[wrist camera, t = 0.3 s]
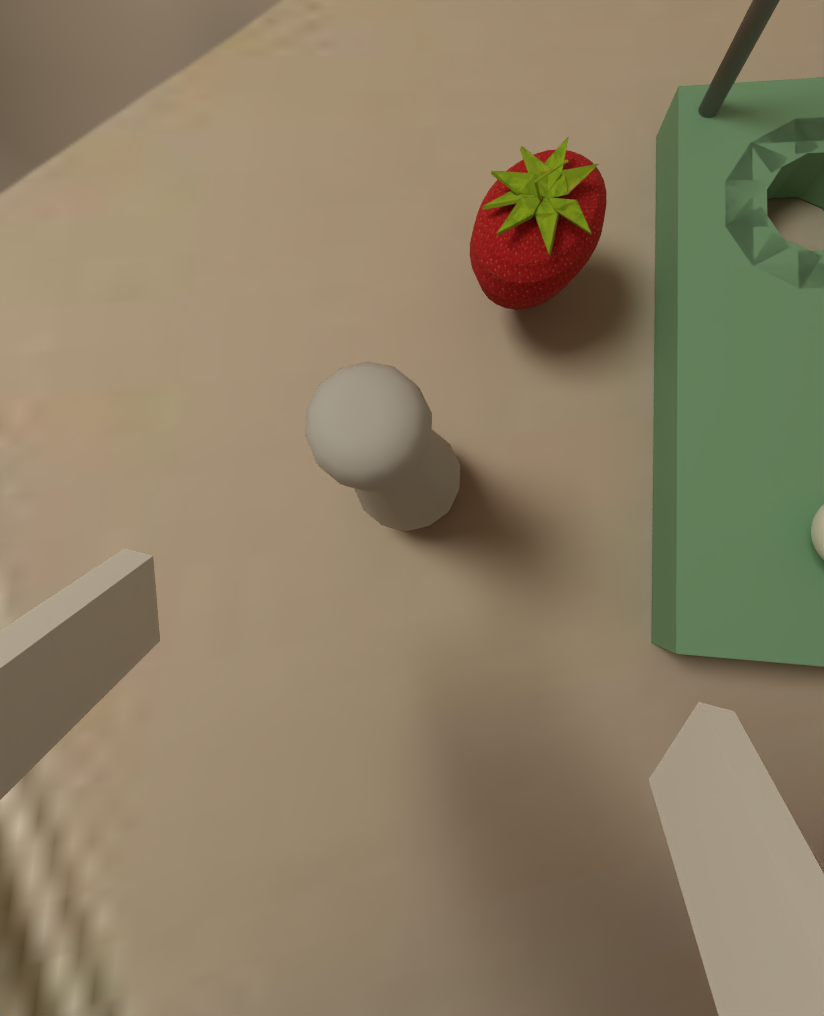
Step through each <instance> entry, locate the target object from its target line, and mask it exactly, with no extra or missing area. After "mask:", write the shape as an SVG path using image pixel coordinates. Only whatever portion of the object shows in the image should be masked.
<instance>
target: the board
mask: <svg viewBox="0 0 824 1016" xmlns="http://www.w3.org/2000/svg"><path fill="white" fill-rule="evenodd" d="M778 2H779V0H753V1H752V3H751V5H750V7H749V9H748V11H747V13H746V15H745V17H744V19H743V21H742V23H741V25H740V27H739V29H738V31H737V33H736V35H735V37H734V39H733V41H732V43H731V45H730V47H729V49H728V51H727V53H726V55H725V57H724V59H723V61H722V63H721V65H720V67H719V69H718V71H717V73H716V74H715V76H714V78H713V80H712V82H711V84H708V85H692V86H679V87H678V89H677V91H676V93H675V96H674V98H673V100H672V103H671V105H670V107H669V109H668V112H667V114H666V116H665V118H664V121H663V123H662V125H661V127H660V130H659V132H658V134H657V144H656V245H655V345H654V446H653V547H652V643H653V644H655V645H657V646H660V647H662V648H664V649H666V650H669V651H671V652H673V653H675V654H684V655H696V656H707V657H719V658H730V659H742V660H754V661H765V662H777V663H788V664H800V665H811V666H823V667H824V560H823V559H822V558H821V557H820V555H819V554H818V553H817V551H816V549H815V548H814V545H813V543H812V538H811V525H812V521H813V518H814V516H815V514H816V513H817V511H818V510H819V509H820V507H821V506H822V505H823V504H824V251H810V250H808V249H806V248H804V247H801V246H799V245H797V244H795V243H793V242H791V241H789V240H786V239H784V238H783V237H782V236H781V234H780V233H779V231H778V230H777V229H776V227H775V226H774V224H773V223H772V222H771V220H770V219H769V217H768V216H767V200H768V199H770V198H791V197H799V198H801V199H803V200H805V201H807V202H810V203H812V204H814V205H816V206H819V207H821V208H823V210H824V77H822V78H806V79H790V80H774V81H757V82H741V83H734V82H735V80H736V78H737V76H738V75H739V73H740V71H741V69H742V67H743V66H744V64H745V62H746V60H747V58H748V57H749V55H750V53H751V51H752V49H753V48H754V46H755V44H756V42H757V40H758V38H759V37H760V35H761V33H762V31H763V29H764V28H765V26H766V24H767V22H768V20H769V19H770V17H771V15H772V13H773V11H774V10H775V8H776V6H777V4H778Z"/></svg>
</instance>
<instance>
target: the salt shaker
mask: <svg viewBox="0 0 824 1016" xmlns="http://www.w3.org/2000/svg"><path fill="white" fill-rule="evenodd" d="M431 427H432V413H431V411H430V409H429V407H428V405H427V403H426V401H425V398H424V396H423V394H422V392H421V390H420V388H419V387H418V386H417V385H416V384H415V383H414V382H413V381H411V380H410V379H409V378H408V377H406V376H405V375H404V374H403V373H401V372H400V371H399V370H397V369H396V368H395V367H393V366H388V365H382V364H377V363H372V362H364V363H360V364H356V365H351V366H347V367H343V368H340V369H339V370H338V371H337V372H335V373H334V374H333V375H332V376H330V377H329V378H328V379H327V380H325V381H324V382H323V383H322V384H320V385H319V387H318V389H317V391H316V393H315V394H314V396H313V398H312V400H311V402H310V404H309V405H308V407H307V411H306V434H305V436H306V438H307V441H308V443H309V446H310V448H311V451H312V453H313V455H314V458H315V460H316V462H317V464H318V465H319V467H320V468H322V469H323V470H324V471H325V472H327V473H328V474H329V475H330V476H331V477H333V478H334V479H335V480H336V481H337V482H339V483H340V484H342V485H345V486H349V487H352V488H354V489H355V491H356V493H357V495H358V498H359V500H360V502H361V504H362V507H363V509H364V511H366V512H367V513H368V514H369V515H370V516H372V517H373V518H374V519H375V520H376V521H378V522H379V523H380V524H381V525H383V526H387V527H391V528H394V529H398V530H402V531H409V530H414V529H418V528H423V527H427V526H430V525H431V524H432V523H434V522H435V521H437V520H438V519H439V518H441V517H442V516H443V515H445V514H446V513H447V512H449V510H450V508H451V506H452V504H453V502H454V500H455V498H456V496H457V494H458V491H459V489H460V463H459V461H458V459H457V457H456V455H455V453H454V451H453V449H452V447H451V445H450V444H449V443H448V442H447V441H446V440H444V439H443V438H442V437H441V436H439V435H438V434H437V433H436V432H435V431H433V430H432V429H431Z"/></svg>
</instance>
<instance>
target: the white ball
mask: <svg viewBox="0 0 824 1016" xmlns="http://www.w3.org/2000/svg"><path fill="white" fill-rule="evenodd" d="M811 538H812V543H813V545H814V548H815V549H816V551H817V553H818V554H819V555H820V557H821V558H822V559H823V560H824V504H823V505H822V506H821V507H820V509H819V510H818V511H817V513H816V514H815V516H814V518H813V521H812V525H811Z"/></svg>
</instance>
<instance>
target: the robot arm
mask: <svg viewBox="0 0 824 1016" xmlns="http://www.w3.org/2000/svg"><path fill="white" fill-rule="evenodd" d="M159 641H160V634H159V622H158V610H157V597H156V585H155V573H154V561H153V556H152V555H148V554H144V553H141V552H137V551H133V550H129V549H126V548H124V549H123V550H121V551H120V552H118V553H117V554H115V555H114V556H112V557H111V558H109V559H108V560H106V561H105V562H103V563H101V564H100V565H98V566H97V567H95V568H94V569H92V570H91V571H89V572H88V573H86V574H85V575H83V576H82V577H80V578H79V579H77V580H76V581H74V582H73V583H71V584H70V585H68V586H67V587H65V588H64V589H62V590H61V591H59V592H58V593H56V594H55V595H53V596H52V597H50V598H49V599H47V600H45V601H44V602H42V603H41V604H39V605H38V606H36V607H35V608H33V609H32V610H30V611H29V612H27V613H26V614H24V615H23V616H21V617H20V618H18V619H17V620H15V621H14V622H12V623H11V624H9V625H8V626H6V627H5V628H3V629H2V630H0V800H1V799H2V798H3V797H4V796H5V795H6V794H7V793H8V792H9V791H10V790H11V789H12V788H13V787H14V786H15V785H16V784H17V783H18V782H19V781H20V780H21V779H22V778H23V777H24V776H25V775H26V774H27V773H28V772H29V771H30V770H31V769H32V768H33V767H34V766H35V765H36V764H37V763H38V762H39V761H40V760H41V759H42V758H43V757H44V756H45V755H46V754H47V753H48V752H49V751H50V750H51V749H52V748H53V747H54V746H55V745H56V744H57V743H58V742H59V741H60V740H61V739H62V738H63V737H64V736H65V735H66V734H67V733H68V732H69V731H70V730H71V729H72V728H73V727H74V726H75V725H76V724H77V723H78V722H79V721H80V720H81V719H82V718H83V717H84V716H85V715H86V714H87V713H88V712H89V711H90V710H91V709H92V708H93V707H94V706H95V705H96V704H97V703H98V702H99V701H100V700H101V699H102V698H103V697H104V696H105V695H106V694H107V693H108V692H109V691H110V690H111V689H112V688H113V687H114V686H115V685H116V684H117V683H118V682H119V681H120V680H121V679H122V678H123V677H124V676H125V675H126V674H127V673H128V672H129V671H130V670H131V669H132V668H133V667H134V666H135V665H136V664H137V663H138V662H139V661H140V660H141V659H142V658H143V657H144V656H145V655H146V654H147V653H148V652H149V651H150V650H151V649H152V648H153V647H154V646H155V645H156V644H157V643H158V642H159ZM649 782H650V786H651V789H652V792H653V796H654V799H655V803H656V806H657V809H658V813H659V816H660V819H661V823H662V826H663V830H664V833H665V836H666V840H667V843H668V847H669V850H670V853H671V857H672V860H673V863H674V867H675V870H676V874H677V877H678V880H679V884H680V887H681V890H682V894H683V897H684V901H685V904H686V907H687V911H688V914H689V917H690V921H691V924H692V928H693V931H694V934H695V938H696V941H697V945H698V948H699V951H700V955H701V958H702V961H703V965H704V968H705V972H706V975H707V978H708V982H709V985H710V988H711V992H712V995H713V999H714V1002H715V1005H716V1009H717V1012H718V1016H824V873H823V872H822V870H821V868H820V866H819V864H818V862H817V861H816V859H815V857H814V855H813V853H812V852H811V850H810V848H809V846H808V844H807V842H806V841H805V839H804V837H803V835H802V833H801V832H800V830H799V828H798V826H797V824H796V823H795V821H794V819H793V817H792V815H791V813H790V812H789V810H788V808H787V806H786V804H785V803H784V801H783V799H782V797H781V795H780V793H779V792H778V790H777V788H776V786H775V784H774V783H773V781H772V779H771V777H770V775H769V773H768V772H767V770H766V768H765V766H764V764H763V763H762V761H761V759H760V757H759V755H758V754H757V752H756V750H755V748H754V746H753V744H752V743H751V741H750V739H749V737H748V735H747V734H746V732H745V730H744V728H743V726H742V724H741V723H740V721H739V719H738V717H737V715H736V714H735V712H734V711H731V710H727V709H724V708H720V707H716V706H712V705H709V704H705V703H701V702H698V704H697V705H696V707H695V708H694V710H693V711H692V713H691V715H690V716H689V718H688V719H687V721H686V722H685V724H684V725H683V727H682V729H681V730H680V732H679V733H678V735H677V736H676V738H675V740H674V741H673V743H672V744H671V746H670V747H669V749H668V750H667V752H666V754H665V755H664V757H663V758H662V760H661V761H660V763H659V764H658V766H657V768H656V769H655V771H654V772H653V774H652V775H651V777H650V779H649Z"/></svg>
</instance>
